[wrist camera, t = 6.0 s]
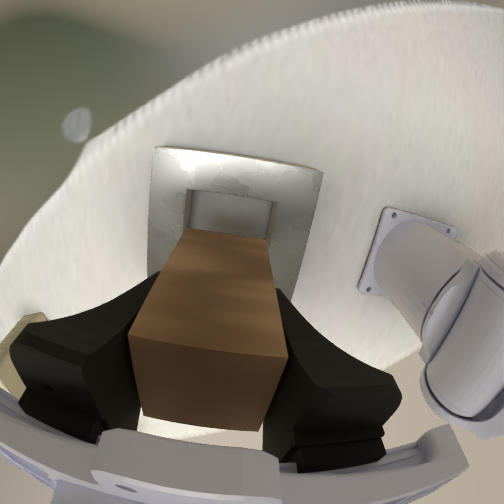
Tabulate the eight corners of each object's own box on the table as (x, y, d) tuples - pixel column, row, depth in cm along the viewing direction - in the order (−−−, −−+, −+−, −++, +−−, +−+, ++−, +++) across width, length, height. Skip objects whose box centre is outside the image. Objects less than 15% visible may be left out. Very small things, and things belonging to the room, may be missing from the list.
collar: (313, 168, 19) (323, 172, 17) (283, 296, 23) (287, 313, 21) (164, 145, 18) (154, 147, 16) (156, 278, 22) (147, 294, 20)
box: (39, 341, 26) (1, 399, 16) (22, 315, 24) (-23, 370, 14) (61, 339, 26) (20, 405, 15) (43, 311, 24) (-6, 374, 14)
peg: (265, 239, 14) (288, 357, 6) (252, 305, 15) (258, 431, 8) (186, 227, 13) (127, 334, 6) (181, 295, 15) (143, 415, 8)
